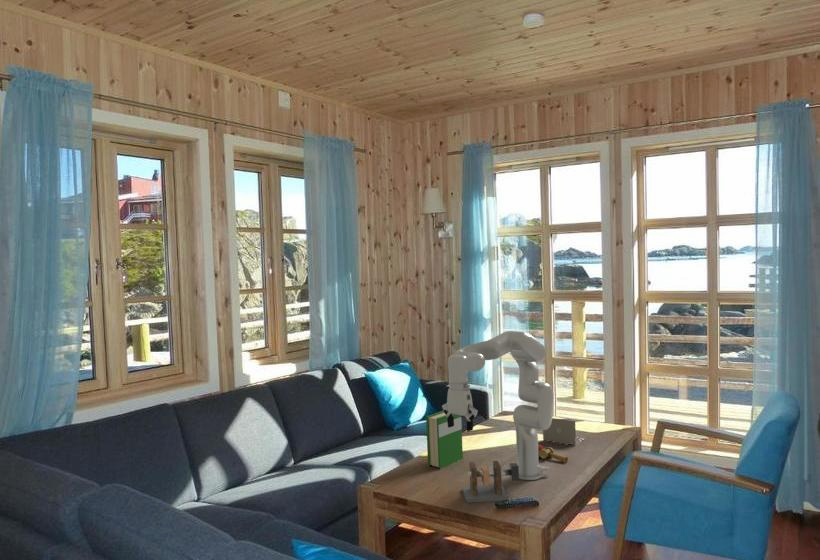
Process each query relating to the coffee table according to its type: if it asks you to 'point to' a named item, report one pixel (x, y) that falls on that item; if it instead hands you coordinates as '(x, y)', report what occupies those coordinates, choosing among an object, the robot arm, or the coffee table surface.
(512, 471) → the shaft
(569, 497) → the coffee table surface
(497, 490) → the stand
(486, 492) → the base board
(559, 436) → the laptop
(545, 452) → the kendama
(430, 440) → the hardback book
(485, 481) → the collar
